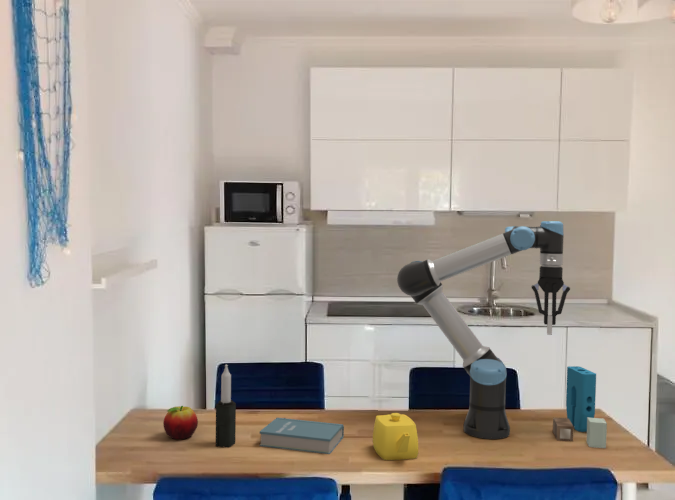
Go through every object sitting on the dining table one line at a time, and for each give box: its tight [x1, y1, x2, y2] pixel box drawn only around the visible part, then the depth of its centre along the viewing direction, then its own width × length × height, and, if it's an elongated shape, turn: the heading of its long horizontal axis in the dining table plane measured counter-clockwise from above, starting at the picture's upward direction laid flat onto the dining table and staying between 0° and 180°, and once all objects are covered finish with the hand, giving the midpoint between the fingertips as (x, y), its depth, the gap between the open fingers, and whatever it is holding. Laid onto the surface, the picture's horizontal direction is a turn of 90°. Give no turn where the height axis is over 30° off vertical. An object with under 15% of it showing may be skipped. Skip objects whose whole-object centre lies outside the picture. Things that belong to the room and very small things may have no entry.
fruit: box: [163, 405, 199, 440], centre depth 208 cm, size 11×11×10 cm
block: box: [565, 365, 597, 433], centre depth 225 cm, size 12×5×20 cm, turn 8°
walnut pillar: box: [552, 417, 575, 442], centre depth 215 cm, size 5×5×9 cm
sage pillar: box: [585, 417, 608, 449], centre depth 207 cm, size 5×5×8 cm
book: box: [259, 417, 345, 455], centre depth 206 cm, size 23×16×5 cm
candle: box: [215, 364, 237, 448], centre depth 201 cm, size 5×5×25 cm
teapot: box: [372, 412, 419, 461], centre depth 197 cm, size 20×12×12 cm, turn 12°
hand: (549, 334), depth 225 cm, fingers closed
